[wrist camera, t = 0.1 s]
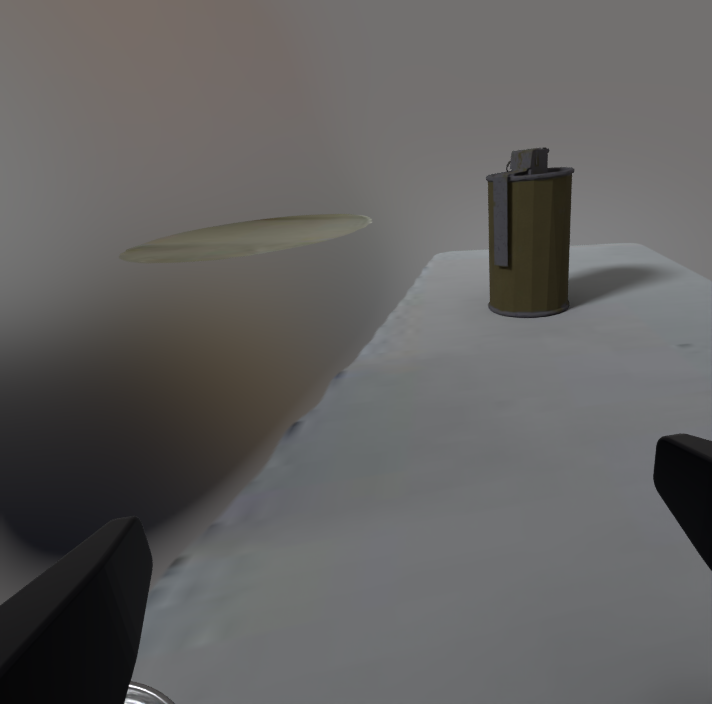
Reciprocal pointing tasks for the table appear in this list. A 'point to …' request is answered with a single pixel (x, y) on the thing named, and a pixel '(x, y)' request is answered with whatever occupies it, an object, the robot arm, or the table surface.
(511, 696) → the table surface
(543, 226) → the canister
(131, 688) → the can
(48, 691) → the robot arm
